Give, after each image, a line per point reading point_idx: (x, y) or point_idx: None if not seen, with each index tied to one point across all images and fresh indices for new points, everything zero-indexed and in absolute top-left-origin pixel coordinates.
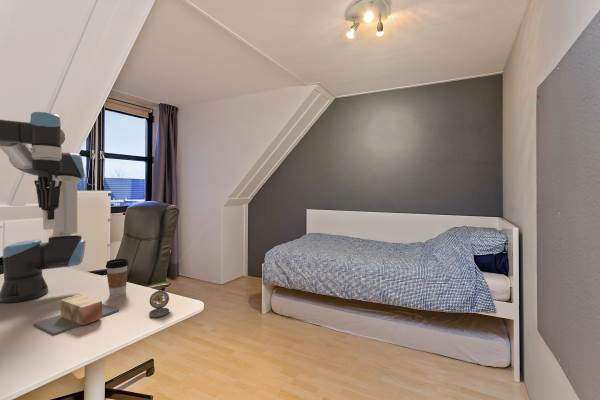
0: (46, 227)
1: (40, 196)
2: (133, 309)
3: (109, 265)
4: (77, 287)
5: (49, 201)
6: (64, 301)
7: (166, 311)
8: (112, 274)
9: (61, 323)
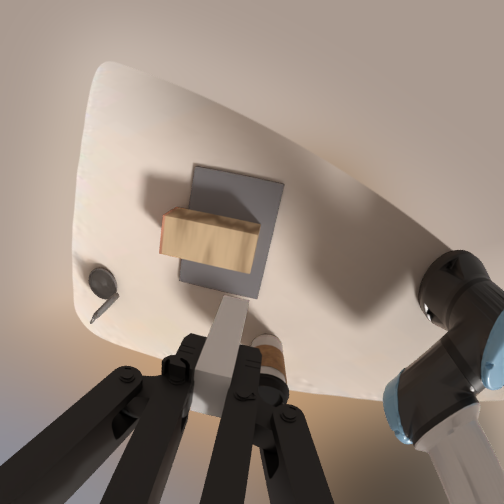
0: (220, 305)
1: (288, 495)
2: (160, 290)
3: (261, 380)
4: (389, 350)
5: (94, 402)
6: (239, 230)
7: (100, 292)
8: None
9: (225, 200)
